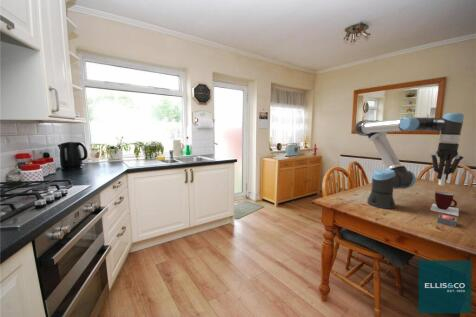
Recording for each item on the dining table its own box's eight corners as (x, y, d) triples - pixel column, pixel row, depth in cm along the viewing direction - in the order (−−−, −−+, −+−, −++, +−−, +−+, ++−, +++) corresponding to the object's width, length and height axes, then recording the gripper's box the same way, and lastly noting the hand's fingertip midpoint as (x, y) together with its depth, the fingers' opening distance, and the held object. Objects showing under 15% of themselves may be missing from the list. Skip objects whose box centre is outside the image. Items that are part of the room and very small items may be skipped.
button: (452, 223, 105) (453, 218, 105) (440, 220, 109) (441, 216, 108) (453, 220, 108) (453, 216, 108) (441, 218, 112) (442, 213, 111)
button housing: (455, 227, 104) (456, 221, 103) (437, 222, 109) (438, 217, 109) (456, 223, 108) (456, 217, 108) (438, 219, 113) (439, 213, 113)
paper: (458, 216, 117) (458, 215, 117) (430, 210, 126) (430, 209, 126) (458, 209, 128) (459, 208, 128) (432, 204, 137) (432, 203, 137)
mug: (459, 211, 124) (462, 195, 122) (452, 213, 121) (455, 197, 119) (437, 205, 133) (439, 190, 132) (430, 207, 130) (432, 192, 129)
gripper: (436, 142, 108) (428, 185, 112) (469, 143, 103) (460, 188, 106) (429, 141, 115) (423, 181, 118) (461, 142, 109) (453, 184, 113)
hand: (441, 185), depth 112 cm, fingers closed
